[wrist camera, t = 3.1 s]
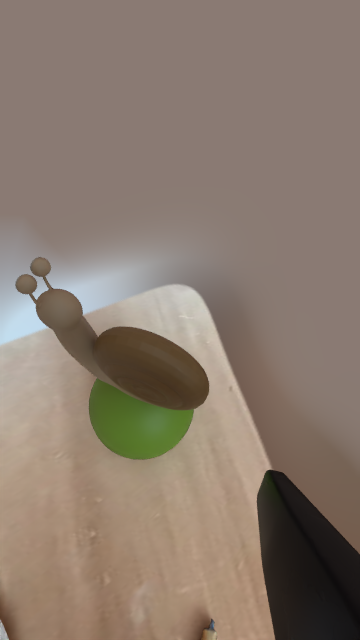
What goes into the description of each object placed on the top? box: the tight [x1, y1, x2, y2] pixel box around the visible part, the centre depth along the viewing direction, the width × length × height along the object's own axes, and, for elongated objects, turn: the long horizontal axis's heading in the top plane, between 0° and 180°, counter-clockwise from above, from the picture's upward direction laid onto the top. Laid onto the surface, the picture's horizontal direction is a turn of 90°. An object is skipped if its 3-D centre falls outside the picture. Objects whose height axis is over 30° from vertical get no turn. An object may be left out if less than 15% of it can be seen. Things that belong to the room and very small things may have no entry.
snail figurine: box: [16, 257, 209, 459], centre depth 13 cm, size 5×6×12 cm
